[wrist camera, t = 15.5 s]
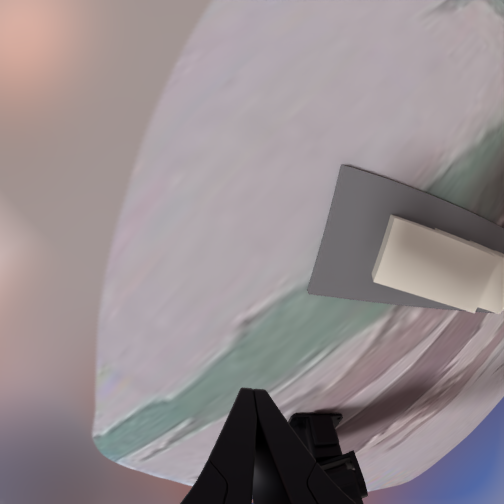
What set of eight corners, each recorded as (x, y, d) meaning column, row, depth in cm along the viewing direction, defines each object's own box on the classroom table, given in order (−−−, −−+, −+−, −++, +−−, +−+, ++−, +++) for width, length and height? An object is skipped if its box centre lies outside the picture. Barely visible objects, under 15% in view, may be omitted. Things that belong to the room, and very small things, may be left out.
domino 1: (390, 214, 19) (488, 251, 17) (371, 273, 21) (467, 304, 19) (394, 217, 18) (497, 257, 16) (373, 282, 20) (474, 313, 17)
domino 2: (435, 227, 20) (511, 259, 18) (416, 281, 22) (493, 306, 19) (441, 232, 18) (520, 265, 16) (420, 289, 20) (500, 314, 18)
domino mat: (493, 310, 25) (495, 313, 24) (306, 290, 22) (308, 293, 21) (521, 238, 22) (524, 239, 21) (341, 164, 19) (343, 165, 18)
